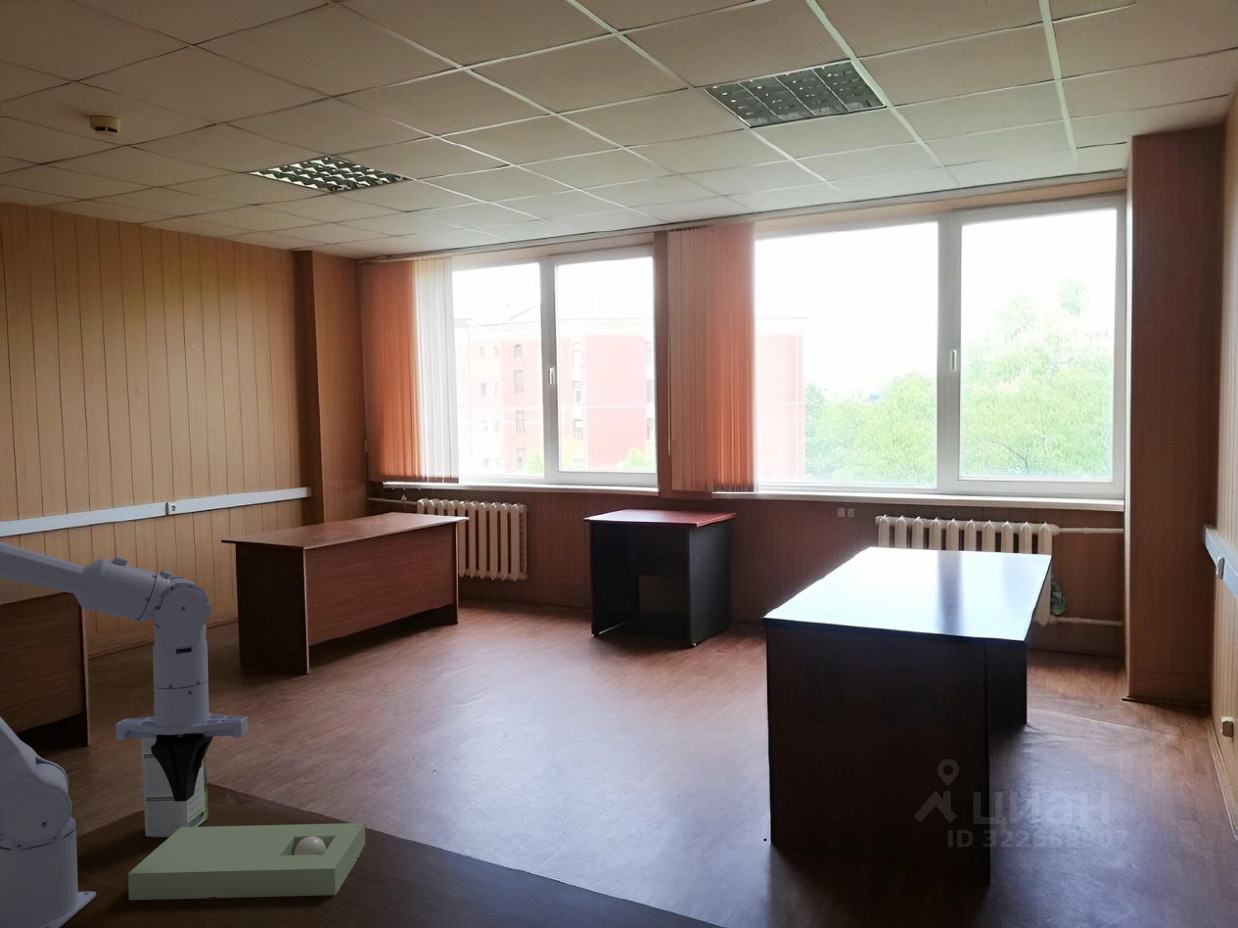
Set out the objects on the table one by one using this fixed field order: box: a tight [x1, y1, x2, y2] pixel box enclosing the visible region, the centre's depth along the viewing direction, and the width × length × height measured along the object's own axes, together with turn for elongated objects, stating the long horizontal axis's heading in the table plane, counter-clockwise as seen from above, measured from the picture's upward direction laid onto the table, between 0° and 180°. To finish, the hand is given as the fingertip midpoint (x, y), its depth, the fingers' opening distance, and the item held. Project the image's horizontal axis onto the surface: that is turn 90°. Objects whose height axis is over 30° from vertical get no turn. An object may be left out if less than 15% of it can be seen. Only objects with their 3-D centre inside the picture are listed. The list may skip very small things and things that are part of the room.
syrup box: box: [140, 738, 209, 838], centre depth 117 cm, size 6×6×14 cm
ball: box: [294, 836, 326, 855], centre depth 104 cm, size 4×4×4 cm
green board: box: [127, 822, 366, 901], centre depth 104 cm, size 23×12×3 cm, turn 91°
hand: (184, 798), depth 103 cm, fingers closed
